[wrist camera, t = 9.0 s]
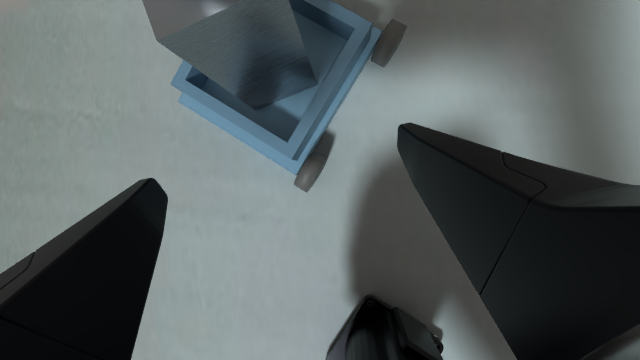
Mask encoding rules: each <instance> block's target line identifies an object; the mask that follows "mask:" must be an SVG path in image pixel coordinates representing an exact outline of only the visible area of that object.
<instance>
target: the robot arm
mask: <svg viewBox="0 0 640 360" xmlns="http://www.w3.org/2000/svg"><path fill="white" fill-rule="evenodd" d="M397 147H398V151H399V153H400V156H401V158H402V160H403V163H404V165H405V167H406V170H407V172H408V174H409V177H410V179H411V181H412V183H413V185H414V187H415V188H416V190H417V192H418V193H419V195H420V197H421V198H422V200H423V202H424V203H425V205H426V207H427V208H428V210H429V212H430V213H431V215H432V217H433V218H434V220H435V222H436V223H437V225H438V227H439V228H440V230H441V232H442V234H443V235H444V237H445V239H446V240H447V242H448V244H449V245H450V247H451V249H452V250H453V252H454V254H455V255H456V257H457V259H458V260H459V262H460V264H461V265H462V267H463V269H464V270H465V272H466V274H467V275H468V277H469V279H470V280H471V282H472V284H473V286H474V287H475V289H476V291H477V292H478V294H479V295H480V298H481V299H482V301H483V303H484V304H485V306H486V308H487V309H488V311H489V313H490V314H491V316H492V318H493V319H494V321H495V323H496V324H497V326H498V328H499V329H500V331H501V333H502V334H503V336H504V338H505V339H506V341H507V343H508V345H509V346H510V348H511V350H512V351H513V353H514V355H515V356H516V358H517V360H640V185H630V184H623V183H618V182H614V181H610V180H606V179H602V178H598V177H594V176H590V175H586V174H582V173H578V172H574V171H570V170H566V169H562V168H558V167H555V166H551V165H547V164H543V163H540V162H536V161H532V160H529V159H526V158H522V157H519V156H515V155H512V154H509V153H506V152H501V151H499V150H496V149H493V148H490V147H487V146H483V145H480V144H477V143H474V142H471V141H468V140H464V139H461V138H458V137H455V136H452V135H448V134H445V133H442V132H439V131H436V130H432V129H429V128H426V127H423V126H420V125H417V124H413V123H405V124H401V125H399V127H398V139H397ZM167 203H168V197H167V194H166V193H165V191H164V190H163V189H162V187H161V186H160V185H159V183H158V182H157V181H156V180H155V179H154V178H147V179H142V180H139V181H138V182H136V183H135V184H133V185H132V186H130V187H129V188H128V189H126V190H125V191H123V192H122V193H120V194H119V195H117V196H116V197H114V198H113V199H111V200H110V201H108V202H107V203H105V204H104V205H102V206H101V207H99V208H98V209H96V210H95V211H93V212H92V213H90V214H89V215H88V216H86V217H85V218H83V219H82V220H80V221H79V222H77V223H76V224H74V225H73V226H71V227H70V228H68V229H67V230H65V231H64V232H62V233H61V234H59V235H58V236H56V237H55V238H53V239H52V240H50V241H49V242H47V243H46V244H45V245H43V246H42V247H40V248H39V249H37V250H36V252H33V253H31V254H30V255H28V256H27V257H25V258H24V259H22V260H21V261H19V262H18V263H16V264H15V265H13V266H12V267H10V268H9V269H7V270H6V271H4V272H3V273H1V274H0V360H131V357H132V353H133V349H134V346H135V342H136V338H137V334H138V330H139V326H140V323H141V319H142V315H143V311H144V307H145V303H146V299H147V296H148V292H149V288H150V284H151V280H152V276H153V273H154V269H155V265H156V261H157V257H158V253H159V249H160V246H161V242H162V237H163V232H164V225H165V218H166V211H167ZM369 301H373V302H374V303H373V304H372V305H369V304H368V302H369ZM435 344H438V346H437V347H436V345H435ZM442 351H443V344H442V342H441V341H440V339H439V338H437V337H436V336H434V335H433V334H431V333H430V332H429V331H428V329H427V327H426V326H425V325H424V324H422V323H421V322H419V321H418V320H416V319H415V318H413V317H412V316H410V315H408V314H407V313H405V312H404V311H402V310H401V309H399V308H398V307H393V308H391V307H390V306H388V305H387V304H385V303H384V302H382V301H380V300H379V299H377V298H376V297H374V296H372V295H368V296H366V297H365V298H364V299H363V301H362V303H361V304H360V306H359V307H358V309H357V310H356V312H355V313H354V315H353V316H352V318H351V319H350V321H349V322H348V324H347V326H346V327H345V329H344V330H343V332H342V333H341V335H340V336H339V338H338V339H337V341H336V342H335V344H334V345H333V347H332V349H331V350H330V352H329V353H328V355H327V356H326V360H443V358H442V356H441V353H442Z"/></svg>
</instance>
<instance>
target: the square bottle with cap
mask: <svg viewBox="0 0 640 360" xmlns="http://www.w3.org/2000/svg"><path fill="white" fill-rule="evenodd" d="M142 1H143V4H144V6H145V9H146V12H147V15H148V18H149V20H150V23H151V26H152V29H153V32H154V34H155V37H156V40H157V41H158V42H159V43H161V44H162V45H163V46H165V47H166V48H168V49H169V50H170V51H172V52H173V53H175V54H176V55H178V56H179V57H180V58H182V59H183V60H185V61H186V62H187V63H189V64H190V65H192V66H193V67H195V68H196V69H197V70H199V71H200V72H202V73H203V74H204V75H206V76H207V77H209V78H210V79H212V80H213V81H214V82H216V83H217V84H219V85H220V86H221V87H223V88H224V89H226V90H227V91H229V92H230V93H231V94H233V95H234V96H236V97H237V98H239V99H240V100H241V101H243V102H244V103H246V104H247V105H248V106H250V107H251V108H253V109H254V110H258V109H261V108H263V107H266V106H268V105H271V104H273V103H275V102H278V101H280V100H283V99H285V98H287V97H290V96H292V95H295V94H297V93H299V92H302V91H304V90H307V89H309V88H312V87H314V86H316V85H317V82H316V79H315V76H314V73H313V70H312V67H311V64H310V62H309V59H308V56H307V53H306V50H305V47H304V44H303V41H302V38H301V35H300V32H299V29H298V26H297V23H296V20H295V17H294V14H293V11H292V8H291V5H290V2H289V0H142Z"/></svg>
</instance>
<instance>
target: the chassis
mask: <svg viewBox="0 0 640 360" xmlns="http://www.w3.org/2000/svg"><path fill="white" fill-rule="evenodd" d="M289 2H290V5H291V8H292V11H293V14H294V17H295V20H296V23H297V26H298V29H299V32H300V35H301V38H302V41H303V44H304V47H305V50H306V53H307V56H308V59H309V62H310V64H311V67H312V70H313V73H314V76H315V79H316V82H317V85H316V86H314V87H312V88H309V89H307V90H304V91H302V92H299V93H297V94H295V95H292V96H290V97H287V98H285V99H283V100H280V101H278V102H275V103H273V104H271V105H268V106H266V107H263V108H261V109H258V110H254V109H253V108H251V107H250V106H248V105H247V104H246V103H244V102H243V101H241V100H240V99H239V98H237V97H236V96H234V95H233V94H231V93H230V92H229V91H227V90H226V89H224V88H223V87H221V86H220V85H219V84H217V83H216V82H214V81H213V80H212V79H210V78H209V77H207V76H206V75H204V74H203V73H202V72H200V71H199V70H197V69H196V68H195V67H193V66H192V65H190V64H189V63H187V62H186V61H185V60H183V62H182V64H181V65H180V67H179V69H178V71H177V73H176V75H175V76H174V78H173V80H172V82H171V84H170V85H172V86H174V87H175V88H177V89H179V90H180V91H182V94H181V96H180V98H179V100H178V102H179V103H181V104H183V105H184V106H186V107H187V108H189V109H191V110H192V111H194V112H195V113H197V114H199V115H200V116H202V117H204V118H205V119H207V120H208V121H210V122H212V123H213V124H215V125H216V126H218V127H220V128H221V129H223V130H224V131H226V132H228V133H229V134H231V135H232V136H234V137H236V138H237V139H239V140H240V141H242V142H244V143H245V144H247V145H248V146H250V147H252V148H253V149H255V150H256V151H258V152H260V153H261V154H263V155H264V156H266V157H268V158H269V159H271V160H272V161H274V162H276V163H277V164H279V165H280V166H282V167H284V168H285V169H287V170H288V171H290V172H292V173H293V174H295V175H297V177H296V179H295V182H294V185H296V186H297V187H299V188H300V189H302V190H303V191H305V192H308V190H309V189H310V188H311V187H312V185H313V184H314V182H315V181H316V179H317V178H318V176H319V175H320V173H321V171H322V169H323V168H324V166H325V164H326V161H327V159H326V158H324V157H322V156H321V155H319V154H317V153H316V152H313V150H314V148H315V147H316V145H317V143H318V142H319V140H320V138H321V137H322V135H323V133H324V132H325V130H326V128H327V127H328V125H329V124H330V122H331V120H332V119H333V117H334V115H335V114H336V112H337V110H338V109H339V107H340V105H341V104H342V102H343V100H344V99H345V97H346V95H347V94H348V92H349V90H350V89H351V87H352V85H353V84H354V82H355V80H356V79H357V77H358V75H359V74H360V72H361V71H362V69H363V67H364V66H365V64H366V62H367V61H368V59H369V57H370V56H371V54H372V52H373V51H374V52H373V55H372V58H371V61H373V62H375V63H376V64H378V65H380V66H382V67H383V68H384V67H385V66H386V64H387V63H388V61H389V60H390V58H391V57H392V55H393V53H394V52H395V50H396V48H397V46H398V44H399V43H400V41H401V39H402V37H403V35H404V32H405V30H406V27H407V26H405V25H403V24H401V23H400V22H398V21H396V20H394V19H392V20H391V21H390V23H389V24H388V25H387V27H386V29H385V30H384V32H383V34H382V31H381V30H380V29H378V28H376V27H374V26H372V24H373V23H371V22H369V21H367V20H366V19H364V18H362V17H360V16H358V15H356V14H355V13H353V12H351V11H349V10H347V9H345V8H344V7H342V6H340V5H338V4H336V3H334V2H333V1H331V0H289ZM374 49H375V50H374ZM312 152H313V153H312ZM311 153H312V154H311Z"/></svg>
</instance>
